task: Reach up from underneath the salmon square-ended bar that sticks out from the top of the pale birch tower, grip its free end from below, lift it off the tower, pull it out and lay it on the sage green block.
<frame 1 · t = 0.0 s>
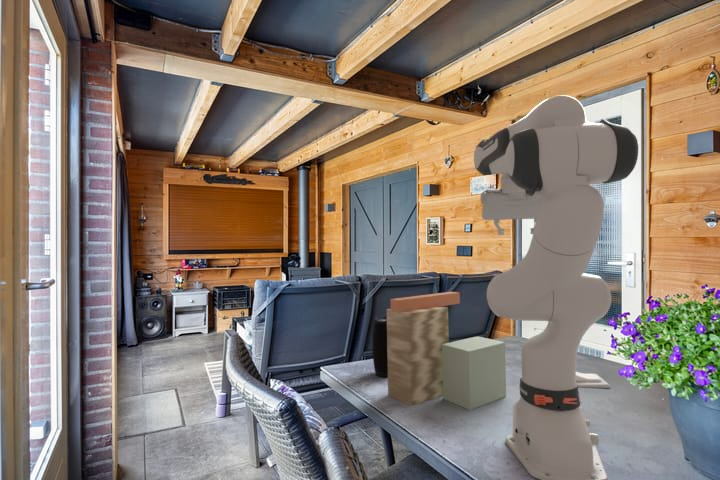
hand: (517, 234, 121), 48 cm above the table, tool pointing down, fingers open, 8 cm apart
salmon square-ended bar: (426, 307, 125), point 26 cm above the table, touching tower
sage green block: (474, 397, 119), on the table
tower: (419, 393, 123), on the table
portable speaker: (386, 374, 141), on the table
light switch: (582, 384, 131), on the table
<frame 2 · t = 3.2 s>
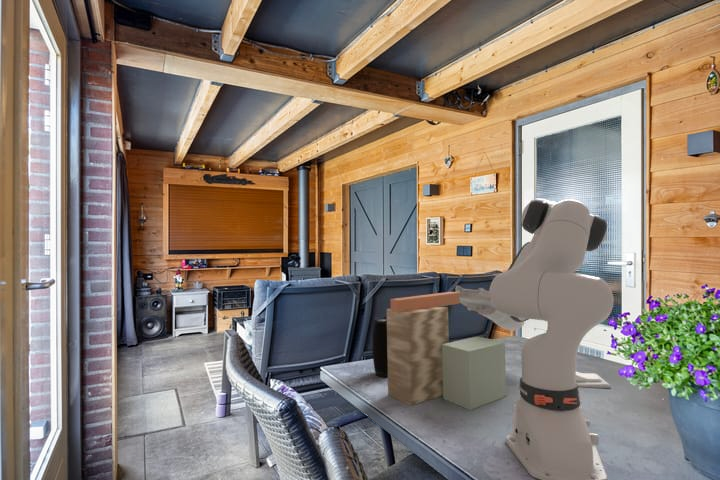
hand: (468, 288, 136), 30 cm above the table, tool pointing upward, fingers open, 8 cm apart
nothing on the table moved.
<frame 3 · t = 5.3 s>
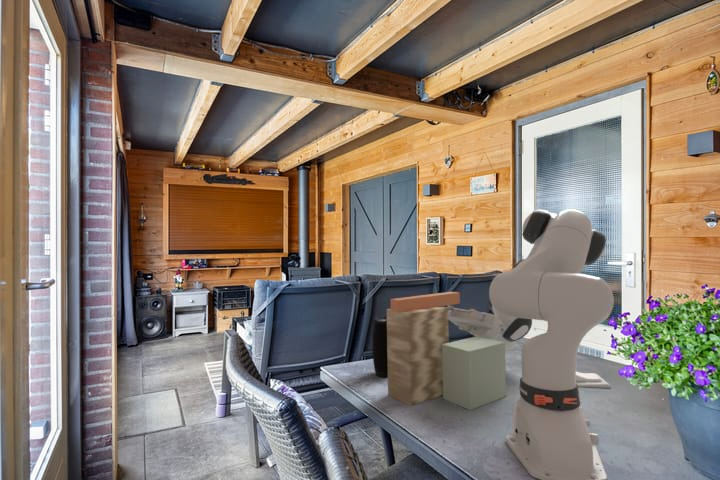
hand: (459, 309, 134), 24 cm above the table, tool pointing upward, fingers open, 8 cm apart
nothing on the table moved.
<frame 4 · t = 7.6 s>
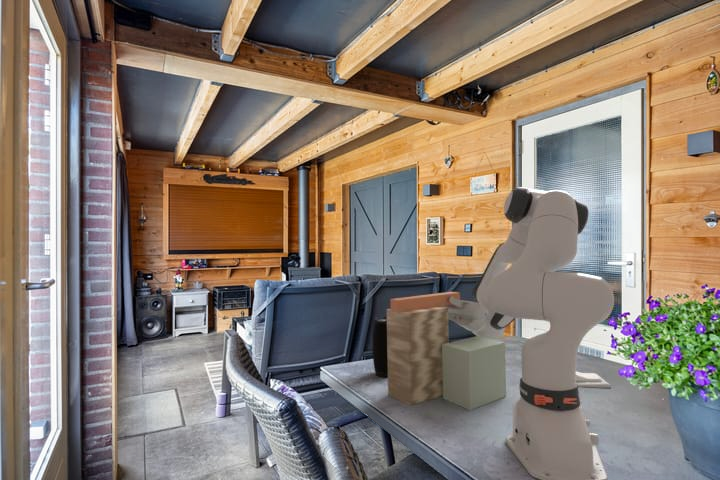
hand: (443, 297, 129), 28 cm above the table, tool pointing upward, fingers closed on salmon square-ended bar, 3 cm apart
salmon square-ended bar: (426, 307, 125), point 26 cm above the table, touching gripper, tower
everything else where it was.
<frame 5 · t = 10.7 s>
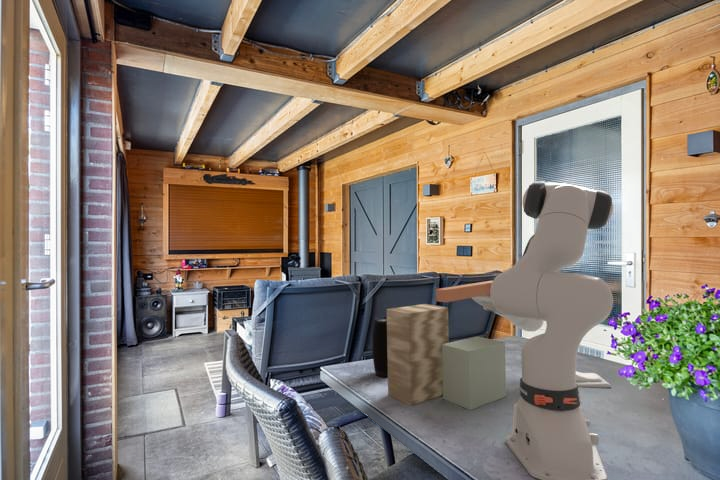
hand: (485, 286, 128), 32 cm above the table, tool pointing upward, fingers closed on salmon square-ended bar, 3 cm apart
salmon square-ended bar: (470, 296, 123), point 29 cm above the table, touching gripper
everything else where it was.
when the fingers open (19 cm above the table, at t = 13.8 s): salmon square-ended bar stays where it is, resting on sage green block.
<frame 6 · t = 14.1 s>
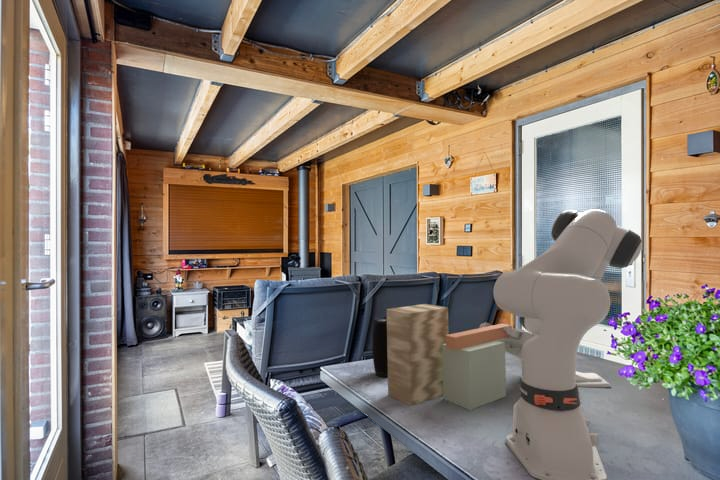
hand: (495, 326, 125), 19 cm above the table, tool pointing upward, fingers open, 6 cm apart
salmon square-ended bar: (480, 341, 121), point 16 cm above the table, touching sage green block
everything else where it was.
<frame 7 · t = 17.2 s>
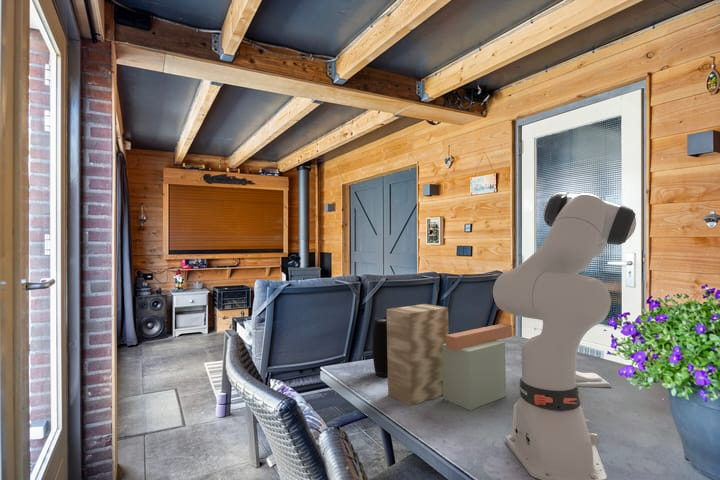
hand: (515, 278, 132), 34 cm above the table, tool pointing upward, fingers open, 8 cm apart
nothing on the table moved.
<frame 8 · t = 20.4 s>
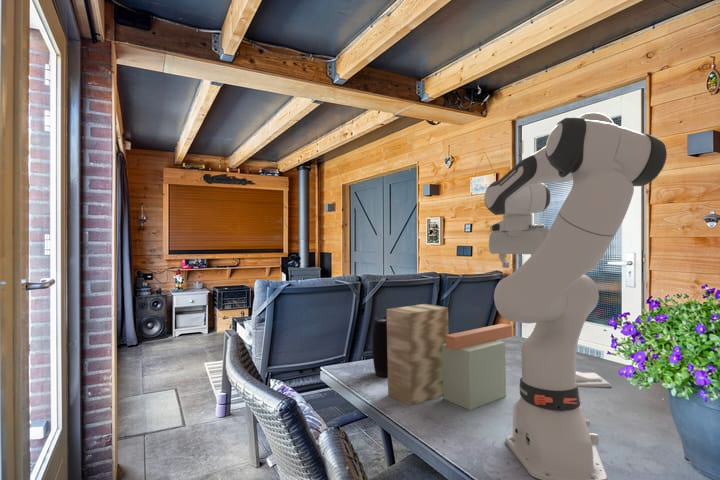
hand: (518, 268, 130), 37 cm above the table, tool pointing down, fingers open, 8 cm apart
nothing on the table moved.
at the end: salmon square-ended bar touching sage green block; salmon square-ended bar point 16.0 cm above the table; the gripper is holding nothing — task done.
